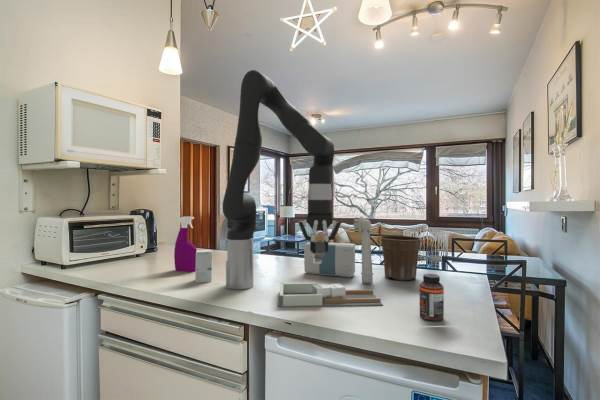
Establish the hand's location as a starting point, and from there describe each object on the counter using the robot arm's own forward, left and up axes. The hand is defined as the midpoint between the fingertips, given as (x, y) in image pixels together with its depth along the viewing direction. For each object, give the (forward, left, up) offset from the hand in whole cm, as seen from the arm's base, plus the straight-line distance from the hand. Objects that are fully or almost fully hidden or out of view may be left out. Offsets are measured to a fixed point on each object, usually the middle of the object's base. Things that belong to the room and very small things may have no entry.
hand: (319, 252), depth 99 cm
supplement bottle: (+28, -17, -15) cm, 36 cm away
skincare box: (-42, +23, -15) cm, 50 cm away
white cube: (0, -1, -14) cm, 14 cm away
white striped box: (+8, +33, -15) cm, 37 cm away
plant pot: (+36, +27, -15) cm, 47 cm away
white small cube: (+5, -1, -14) cm, 15 cm away
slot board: (+3, 0, -15) cm, 15 cm away
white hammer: (+19, +19, -15) cm, 31 cm away
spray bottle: (-54, +40, -15) cm, 69 cm away
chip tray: (-6, 0, -15) cm, 16 cm away
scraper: (0, +6, -2) cm, 7 cm away
